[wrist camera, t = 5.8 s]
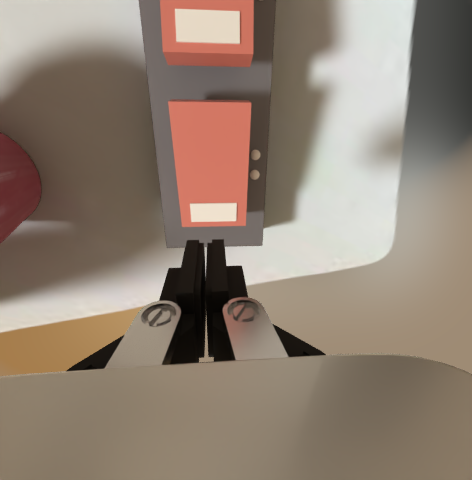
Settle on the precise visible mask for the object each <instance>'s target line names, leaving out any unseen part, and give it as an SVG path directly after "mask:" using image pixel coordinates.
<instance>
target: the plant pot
mask: <svg viewBox="0 0 472 480" xmlns="http://www.w3.org/2000/svg"><path fill="white" fill-rule="evenodd" d="M40 198H41V181H40V177H39V174H38V171H37V169H36V167H35V165H34V163H33V162H32V160H31V159H30V157H29V156H28V155H27V153H26V152H25V151H24V150H23V149H22V148H21V147H20V146H19V145H18V144H17V143H16V142H14V141H13V140H12V139H10V138H9V137H7V136H6V135H4V134H2V133H1V132H0V244H1V243H2V242H3V241H4V240H5V239H6V238H7V237H8V236H9V235H10V234H11V233H12V232H13V231H14V230H15V229H16V228H17V227H18V226H19V225H20V224H21V223H22V222H23V221H24V220H25V219H26V218H27V217H28V216H29V215H30V214H32V213H33V211H34V210H35V209H36V207H37V206H38V203H39V201H40Z"/></svg>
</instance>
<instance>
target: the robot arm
mask: <svg viewBox="0 0 472 480" xmlns="http://www.w3.org/2000/svg"><path fill="white" fill-rule="evenodd" d="M206 315H207V333H208V334H207V335H208V355H209V357H214V362H202V363H201V362H200V363H199V358H201V357H204V350H205V321H206ZM0 480H472V374H470V373H468V372H466V371H464V370H461V369H459V368H456V367H454V366H451V365H448V364H445V363H442V362H438V361H433V360H430V359H425V358H422V357H416V356H409V355H401V354H385V353H371V354H337V355H326V354H324V353H323V352H322V351H320V350H318V349H316V348H315V347H312V346H311V345H309V344H308V343H305V342H304V341H302V340H300V339H298V338H297V337H295V336H293V335H291V334H290V333H288V332H286V331H284V330H282V329H280V328H279V327H277V326H275V325H274V324H272V323H271V321H270V319H269V317H268V315H267V313H266V311H265V309H264V307H263V306H262V304H261V303H259V302H258V301H257V300H255V299H252V298H248V295H247V289H246V284H245V279H244V274H243V269H242V266H226V258H225V247H224V239H212V243H207V266H206V275H205V254H204V243H199V240H187V242H186V247H185V252H184V256H183V261H182V266H181V268H169V270H168V273H167V276H166V279H165V283H164V286H163V290H162V293H161V296H160V300H159V301H157V302H153V303H150V304H148V305H146V306H145V307H143V308H142V309H141V310H140V311H139V312H138V314H137V316H136V317H135V319H134V320H133V322H132V324H131V325H130V327H129V329H128V330H127V332H126V334H125V335H123V336H122V337H120V338H118V339H117V340H115V341H113V342H112V343H110V344H108V345H107V346H105V347H103V348H102V349H100V350H99V351H97V352H95V353H94V354H92V355H90V356H89V357H87V358H85V359H84V360H82V361H81V362H79V363H77V364H75V365H74V366H72V367H71V368H69V369H68V370H67V371H65V372H52V373H37V374H22V375H13V376H3V377H0Z"/></svg>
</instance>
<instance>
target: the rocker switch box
mask: <svg viewBox="0 0 472 480" xmlns="http://www.w3.org/2000/svg"><path fill="white" fill-rule="evenodd" d="M275 4H276V0H254V25H253V58H252V61H251V65H250V67H226V66H184V65H168V64H167V61H166V58H165V56H164V53H163V46H162V28H161V10H160V0H139V7H140V16H141V24H142V33H143V42H144V51H145V60H146V69H147V77H148V86H149V95H150V104H151V113H152V121H153V130H154V139H155V148H156V157H157V166H158V174H159V183H160V192H161V201H162V210H163V218H164V227H165V236H166V245H167V248H184V247H186V242H187V240H199V243H204V247H207V243H212V239H224V247H226V246H262V242H263V224H264V206H265V187H266V169H267V151H268V132H269V114H270V96H271V77H272V59H273V41H274V22H275ZM171 99H194V100H249V101H250V102H251V122H250V144H249V166H248V188H247V210H246V226H210V227H182V222H181V213H180V204H179V195H178V186H177V177H176V168H175V159H174V150H173V141H172V132H171V123H170V114H169V105H168V101H170V100H171Z"/></svg>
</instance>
